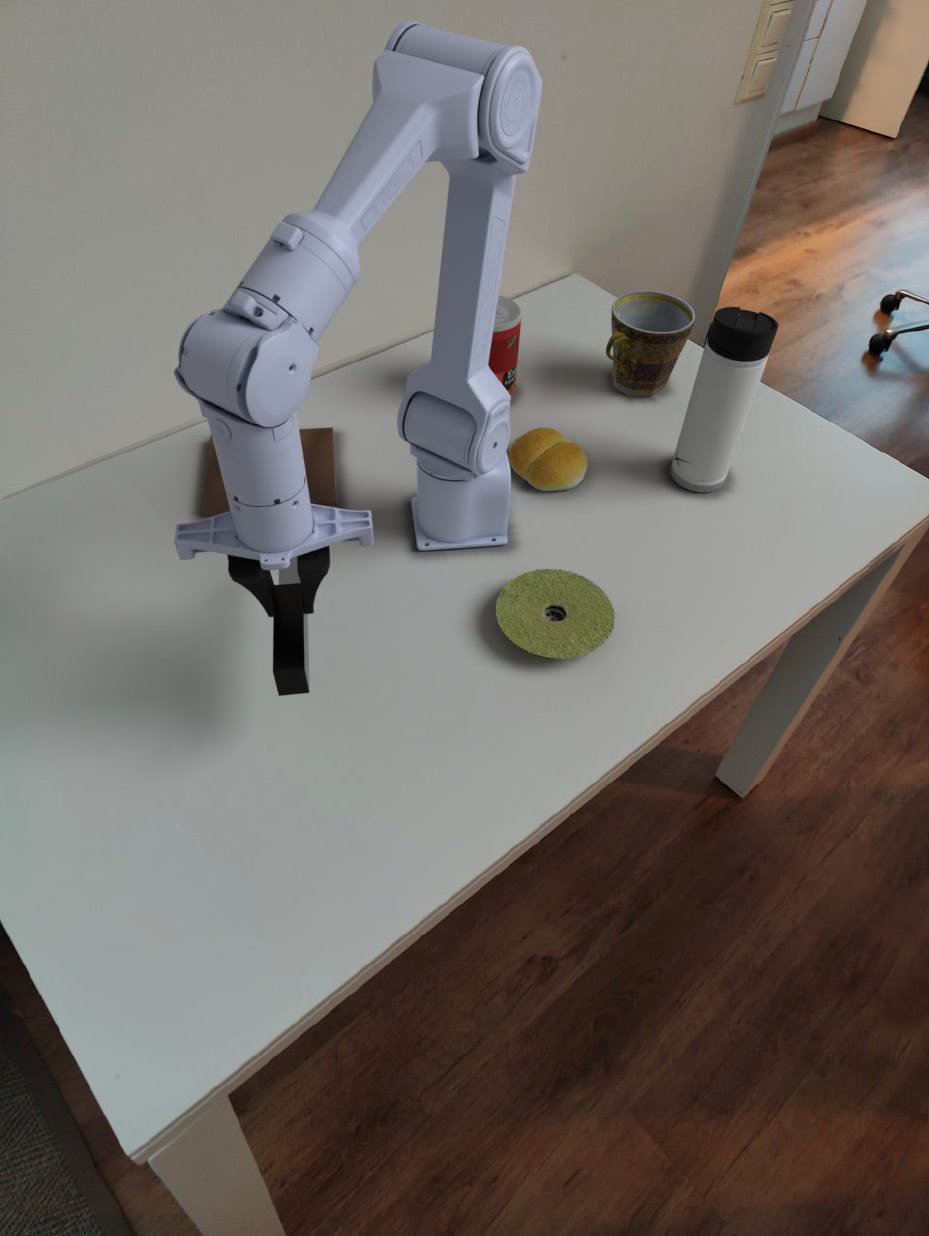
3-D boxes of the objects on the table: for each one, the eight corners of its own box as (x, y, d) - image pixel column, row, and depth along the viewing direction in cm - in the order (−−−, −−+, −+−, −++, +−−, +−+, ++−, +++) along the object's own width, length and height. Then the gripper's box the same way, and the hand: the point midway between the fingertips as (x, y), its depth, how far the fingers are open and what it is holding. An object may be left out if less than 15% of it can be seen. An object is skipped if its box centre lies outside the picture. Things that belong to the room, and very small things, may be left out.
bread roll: (551, 504, 90) (555, 476, 87) (496, 464, 94) (498, 435, 91) (602, 474, 94) (608, 446, 91) (547, 436, 98) (551, 408, 95)
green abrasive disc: (470, 628, 78) (471, 614, 77) (540, 565, 84) (542, 551, 83) (566, 691, 74) (569, 678, 72) (633, 620, 80) (637, 607, 78)
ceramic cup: (632, 353, 111) (647, 282, 103) (692, 386, 106) (712, 314, 98) (567, 389, 105) (578, 316, 97) (627, 425, 100) (643, 352, 92)
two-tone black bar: (309, 693, 64) (304, 668, 62) (278, 696, 64) (272, 672, 62) (305, 527, 77) (301, 501, 74) (279, 529, 76) (274, 503, 74)
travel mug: (663, 486, 93) (709, 323, 78) (676, 452, 97) (721, 291, 82) (718, 501, 91) (775, 338, 76) (729, 466, 95) (785, 305, 80)
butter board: (333, 435, 97) (332, 427, 96) (337, 509, 89) (336, 500, 88) (212, 442, 95) (210, 433, 95) (204, 517, 87) (202, 509, 86)
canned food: (515, 409, 101) (522, 328, 93) (450, 407, 101) (452, 325, 93) (513, 374, 106) (520, 294, 98) (452, 372, 106) (454, 291, 98)
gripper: (154, 526, 55) (198, 651, 65) (372, 510, 56) (381, 635, 67) (164, 459, 59) (204, 586, 70) (365, 446, 61) (375, 573, 71)
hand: (290, 606), depth 68 cm, fingers closed on two-tone black bar, 2 cm apart
